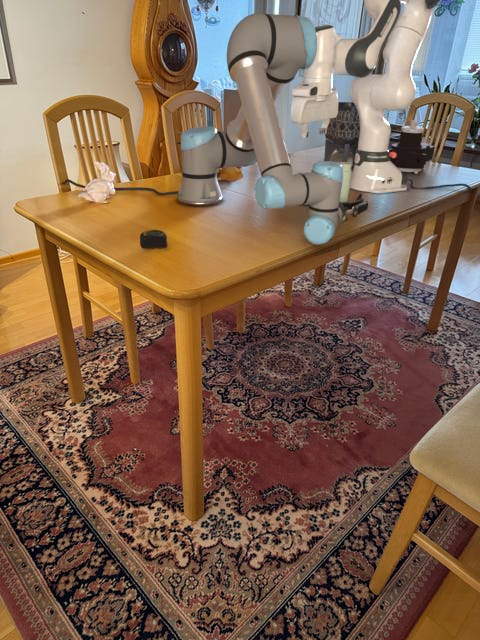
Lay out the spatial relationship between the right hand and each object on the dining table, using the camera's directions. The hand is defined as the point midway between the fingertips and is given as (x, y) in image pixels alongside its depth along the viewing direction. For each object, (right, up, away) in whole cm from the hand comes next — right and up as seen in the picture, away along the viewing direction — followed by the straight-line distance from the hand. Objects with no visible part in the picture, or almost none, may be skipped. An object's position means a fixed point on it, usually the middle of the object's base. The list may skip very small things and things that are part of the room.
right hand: (313, 135), depth 147 cm
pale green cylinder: (+7, -28, -4) cm, 29 cm away
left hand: (+9, -21, -4) cm, 23 cm away
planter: (+23, +11, +64) cm, 69 cm away
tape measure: (-46, -41, -29) cm, 68 cm away
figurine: (-72, -20, +7) cm, 75 cm away
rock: (+35, +31, +98) cm, 108 cm away
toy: (-28, -3, +38) cm, 47 cm away
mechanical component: (+54, +10, +62) cm, 83 cm away
